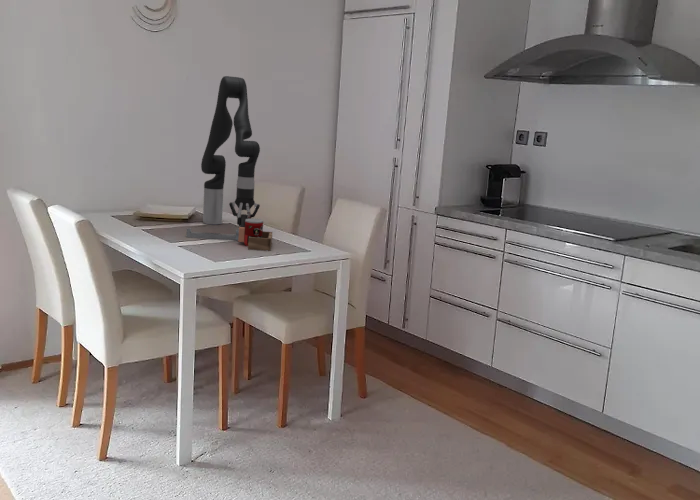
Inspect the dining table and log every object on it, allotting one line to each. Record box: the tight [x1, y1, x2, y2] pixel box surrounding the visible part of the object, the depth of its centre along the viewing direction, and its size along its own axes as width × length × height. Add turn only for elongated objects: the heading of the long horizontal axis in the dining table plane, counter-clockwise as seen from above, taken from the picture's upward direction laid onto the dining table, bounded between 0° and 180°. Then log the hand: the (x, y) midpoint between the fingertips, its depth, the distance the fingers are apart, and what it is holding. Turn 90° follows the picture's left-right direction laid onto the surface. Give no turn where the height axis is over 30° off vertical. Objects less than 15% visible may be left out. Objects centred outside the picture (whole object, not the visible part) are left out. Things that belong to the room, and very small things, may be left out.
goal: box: [247, 230, 273, 252], centre depth 284 cm, size 15×9×5 cm, turn 4°
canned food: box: [243, 217, 264, 247], centre depth 284 cm, size 8×8×11 cm
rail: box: [185, 227, 237, 241], centre depth 292 cm, size 3×30×4 cm, turn 94°
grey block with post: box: [235, 213, 248, 243], centre depth 289 cm, size 13×6×11 cm, turn 4°
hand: (243, 225), depth 292 cm, fingers closed on grey block with post, 3 cm apart
